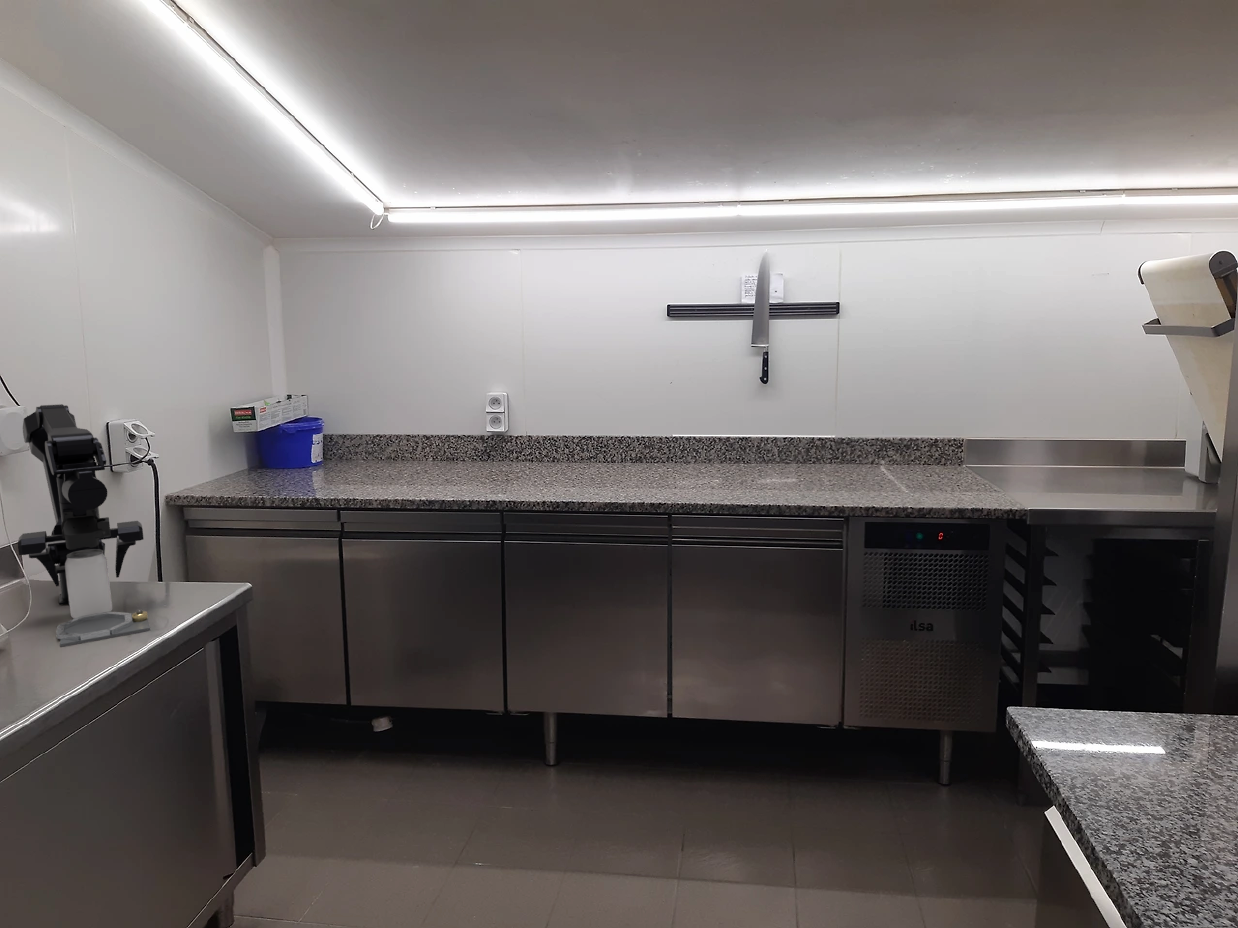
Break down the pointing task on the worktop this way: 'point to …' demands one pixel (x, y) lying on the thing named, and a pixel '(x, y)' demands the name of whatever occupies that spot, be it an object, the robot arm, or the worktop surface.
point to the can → (88, 583)
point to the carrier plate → (103, 625)
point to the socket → (115, 629)
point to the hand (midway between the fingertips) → (88, 581)
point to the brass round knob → (139, 616)
